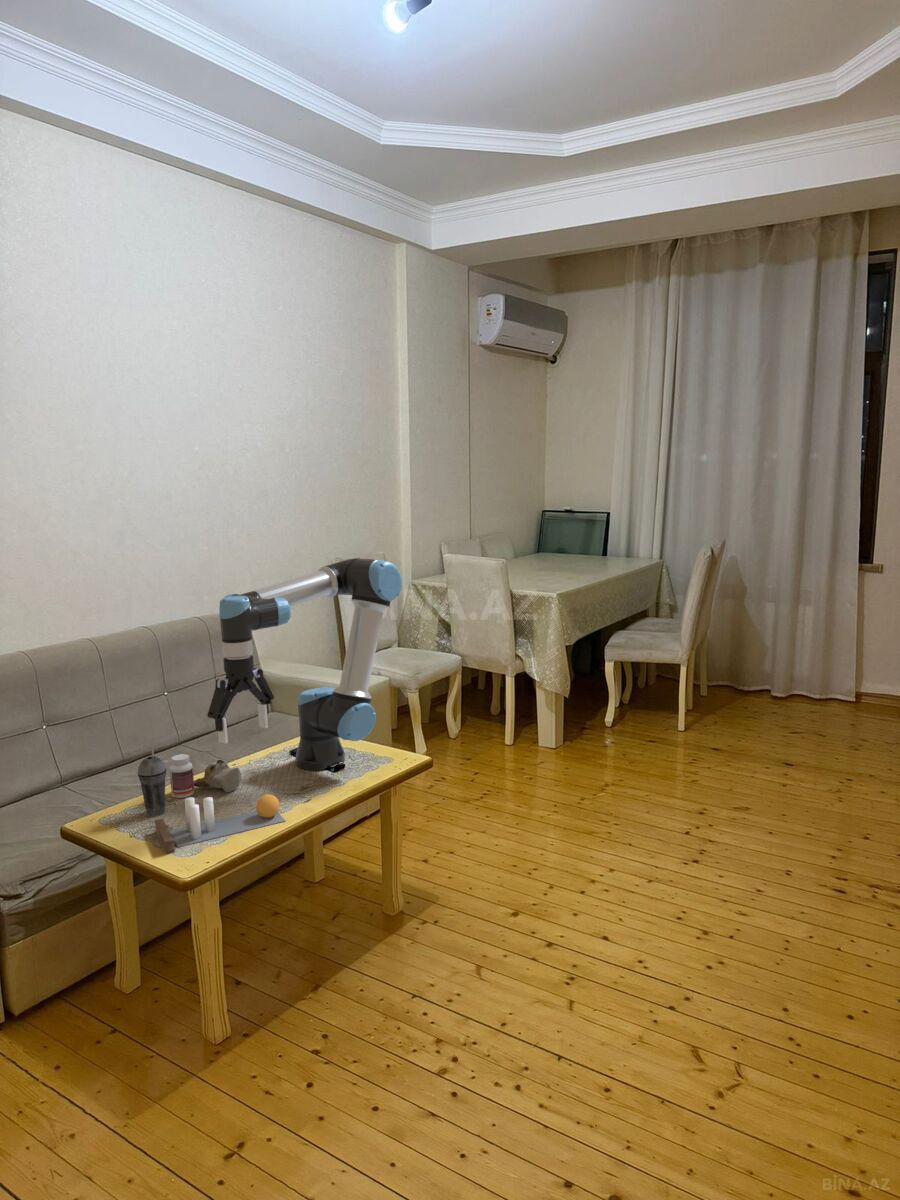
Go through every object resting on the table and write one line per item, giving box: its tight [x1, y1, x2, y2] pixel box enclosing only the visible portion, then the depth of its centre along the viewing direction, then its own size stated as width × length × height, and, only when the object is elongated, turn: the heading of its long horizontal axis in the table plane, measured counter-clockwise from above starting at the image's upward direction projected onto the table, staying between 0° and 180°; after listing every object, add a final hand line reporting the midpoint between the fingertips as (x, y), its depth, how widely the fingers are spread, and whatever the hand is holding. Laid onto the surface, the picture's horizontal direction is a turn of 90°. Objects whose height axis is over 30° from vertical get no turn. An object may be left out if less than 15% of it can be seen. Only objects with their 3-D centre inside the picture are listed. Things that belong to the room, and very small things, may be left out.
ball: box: [255, 793, 280, 818], centre depth 209 cm, size 6×6×6 cm
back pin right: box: [184, 796, 196, 832], centre depth 201 cm, size 2×2×8 cm
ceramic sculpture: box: [194, 759, 242, 793], centre depth 229 cm, size 11×9×15 cm
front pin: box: [202, 796, 215, 832], centre depth 201 cm, size 2×2×8 cm
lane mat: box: [169, 810, 286, 848], centre depth 204 cm, size 27×10×1 cm, turn 120°
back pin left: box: [189, 803, 201, 840], centre depth 197 cm, size 2×2×8 cm
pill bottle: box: [169, 753, 195, 799], centre depth 225 cm, size 6×6×11 cm
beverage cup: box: [137, 739, 167, 817], centre depth 212 cm, size 7×7×20 cm
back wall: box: [154, 818, 176, 855], centre depth 196 cm, size 2×14×3 cm, turn 30°
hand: (244, 734), depth 210 cm, fingers open, 13 cm apart
